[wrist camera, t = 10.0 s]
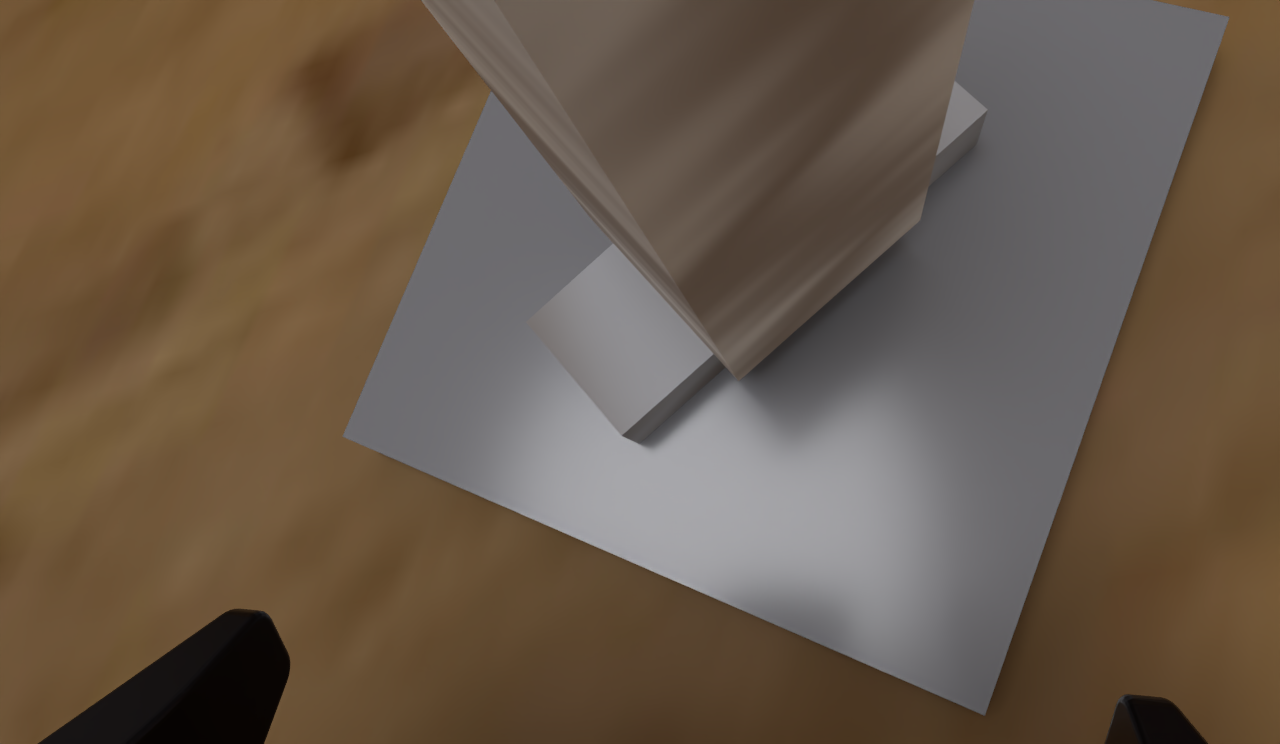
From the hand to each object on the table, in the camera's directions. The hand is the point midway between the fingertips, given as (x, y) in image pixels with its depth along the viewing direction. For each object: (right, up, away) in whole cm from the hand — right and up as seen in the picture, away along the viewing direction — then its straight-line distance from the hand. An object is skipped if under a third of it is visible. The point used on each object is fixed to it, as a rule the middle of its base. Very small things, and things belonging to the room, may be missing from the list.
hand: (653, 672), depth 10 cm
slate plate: (+3, +6, +10) cm, 12 cm away
